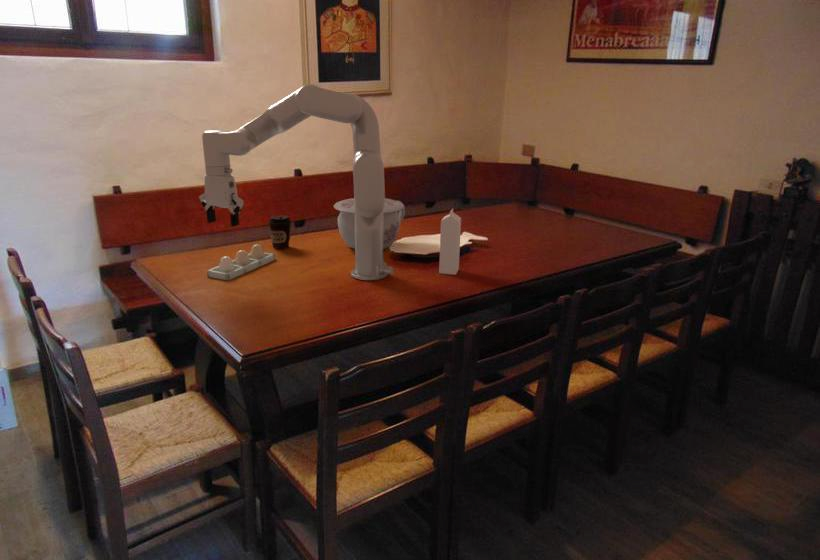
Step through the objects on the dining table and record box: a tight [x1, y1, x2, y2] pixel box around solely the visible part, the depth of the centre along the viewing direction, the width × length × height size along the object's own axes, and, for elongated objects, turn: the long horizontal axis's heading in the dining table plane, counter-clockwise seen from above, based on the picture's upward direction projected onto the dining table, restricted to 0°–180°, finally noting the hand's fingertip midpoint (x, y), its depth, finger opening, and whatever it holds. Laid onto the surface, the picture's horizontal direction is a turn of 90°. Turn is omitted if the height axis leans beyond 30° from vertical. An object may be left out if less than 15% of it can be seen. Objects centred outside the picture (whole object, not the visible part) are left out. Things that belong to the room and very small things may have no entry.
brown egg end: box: [249, 243, 265, 260], centre depth 209 cm, size 5×5×6 cm
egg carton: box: [206, 251, 276, 281], centre depth 205 cm, size 25×17×3 cm
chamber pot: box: [333, 197, 406, 250], centre depth 230 cm, size 28×28×21 cm
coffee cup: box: [268, 214, 292, 251], centre depth 225 cm, size 9×8×13 cm
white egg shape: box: [218, 255, 234, 273], centre depth 195 cm, size 5×5×6 cm
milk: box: [438, 208, 462, 276], centre depth 202 cm, size 6×6×22 cm
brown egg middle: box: [235, 249, 250, 266], centre depth 202 cm, size 5×5×6 cm
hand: (223, 223), depth 191 cm, fingers open, 9 cm apart
